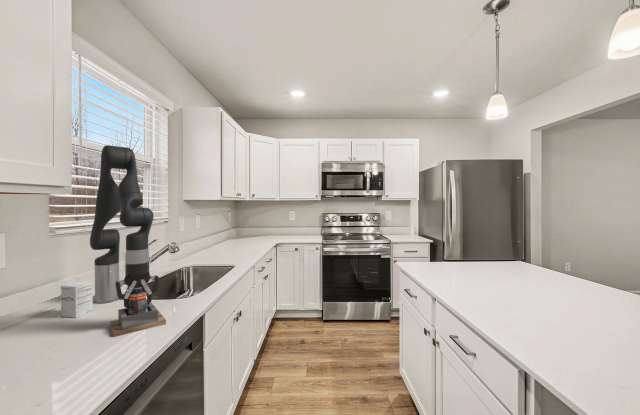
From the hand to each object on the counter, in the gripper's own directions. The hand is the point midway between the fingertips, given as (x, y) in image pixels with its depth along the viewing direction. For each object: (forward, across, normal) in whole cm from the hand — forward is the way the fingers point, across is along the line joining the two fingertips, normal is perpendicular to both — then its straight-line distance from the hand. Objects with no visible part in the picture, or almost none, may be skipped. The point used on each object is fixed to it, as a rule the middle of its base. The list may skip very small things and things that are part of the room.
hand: (137, 305), depth 107 cm
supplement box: (+7, +17, -29) cm, 34 cm away
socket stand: (+7, 0, 0) cm, 7 cm away
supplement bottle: (+4, 0, 0) cm, 4 cm away
